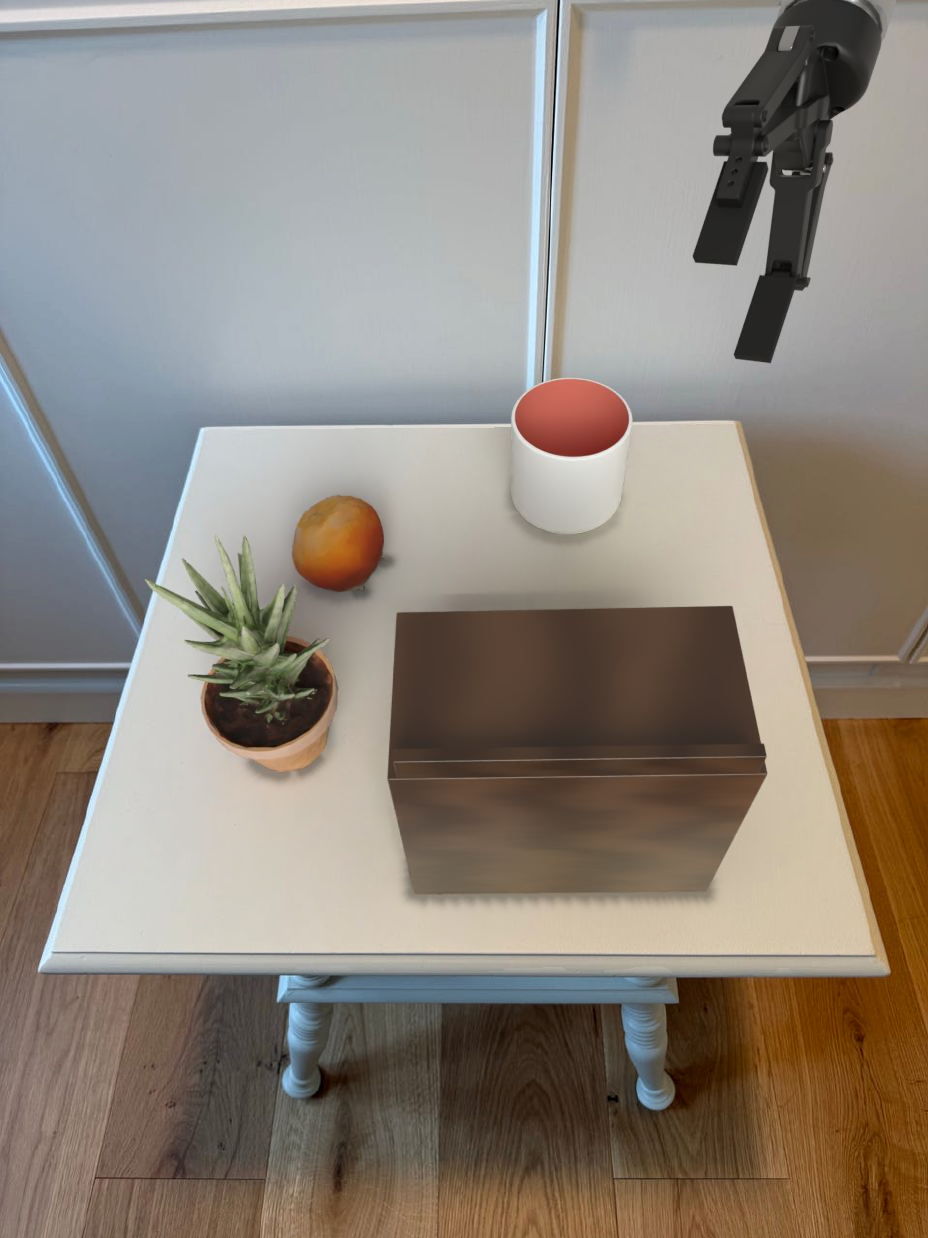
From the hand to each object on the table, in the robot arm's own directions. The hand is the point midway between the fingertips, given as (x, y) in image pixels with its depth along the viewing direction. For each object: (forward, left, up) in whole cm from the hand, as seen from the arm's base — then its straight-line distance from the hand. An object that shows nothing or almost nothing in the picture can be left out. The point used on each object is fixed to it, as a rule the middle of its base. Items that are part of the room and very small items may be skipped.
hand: (734, 315), depth 63 cm
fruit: (+28, +11, -23) cm, 38 cm away
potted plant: (+26, +28, -23) cm, 45 cm away
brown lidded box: (+5, +29, -22) cm, 37 cm away
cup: (+11, -1, -23) cm, 25 cm away
